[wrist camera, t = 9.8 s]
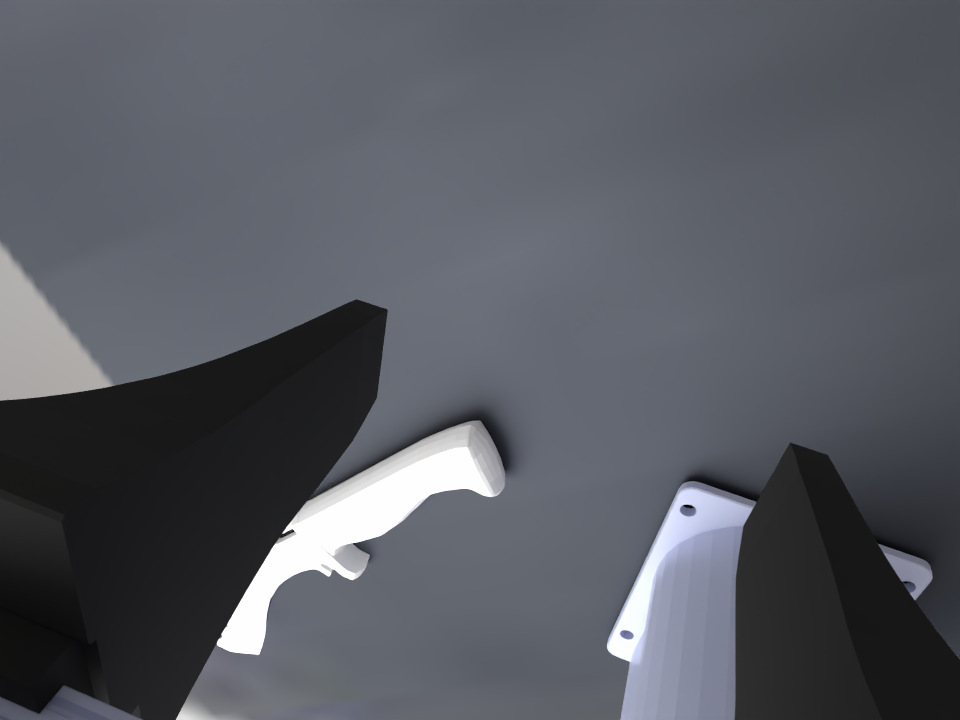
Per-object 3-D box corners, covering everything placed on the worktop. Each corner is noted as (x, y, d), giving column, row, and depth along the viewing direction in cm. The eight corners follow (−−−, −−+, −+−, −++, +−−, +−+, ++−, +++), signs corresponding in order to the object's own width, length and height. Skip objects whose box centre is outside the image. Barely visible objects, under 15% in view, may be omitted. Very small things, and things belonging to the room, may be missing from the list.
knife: (191, 712, 44) (87, 627, 42) (208, 686, 46) (108, 604, 44) (600, 585, 27) (457, 432, 25) (609, 550, 28) (473, 401, 26)
